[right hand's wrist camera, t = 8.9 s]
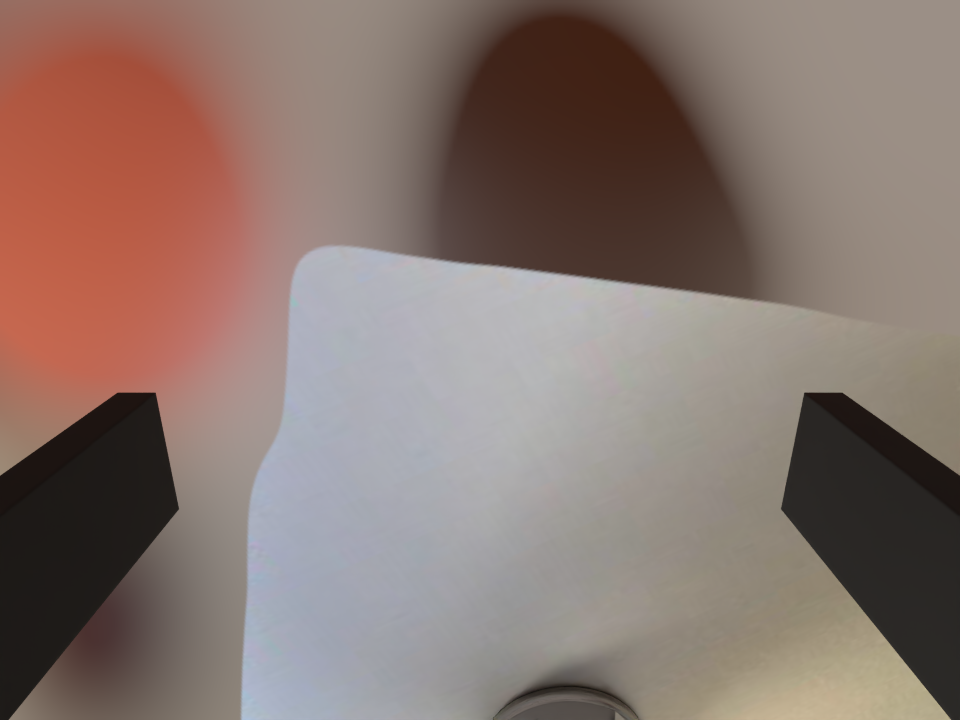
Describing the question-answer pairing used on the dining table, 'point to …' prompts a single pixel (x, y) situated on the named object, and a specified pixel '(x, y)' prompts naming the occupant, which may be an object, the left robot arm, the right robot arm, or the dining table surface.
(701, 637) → the dining table surface
